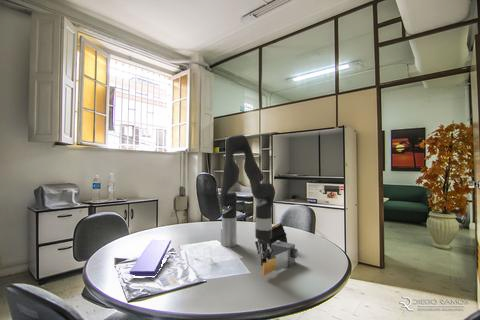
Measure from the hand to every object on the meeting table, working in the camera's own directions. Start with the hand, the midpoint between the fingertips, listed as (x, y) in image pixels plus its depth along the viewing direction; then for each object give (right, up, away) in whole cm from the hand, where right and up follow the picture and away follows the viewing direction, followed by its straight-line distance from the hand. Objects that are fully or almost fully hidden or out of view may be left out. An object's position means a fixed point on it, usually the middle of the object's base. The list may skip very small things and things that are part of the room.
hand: (263, 265), depth 105 cm
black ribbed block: (+11, -6, +34) cm, 36 cm away
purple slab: (-54, -6, +11) cm, 56 cm away
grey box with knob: (+12, -4, +14) cm, 19 cm away
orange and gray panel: (+6, -4, +2) cm, 8 cm away
